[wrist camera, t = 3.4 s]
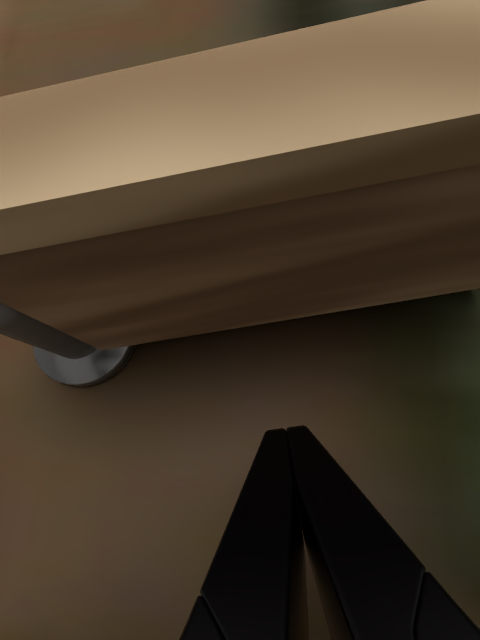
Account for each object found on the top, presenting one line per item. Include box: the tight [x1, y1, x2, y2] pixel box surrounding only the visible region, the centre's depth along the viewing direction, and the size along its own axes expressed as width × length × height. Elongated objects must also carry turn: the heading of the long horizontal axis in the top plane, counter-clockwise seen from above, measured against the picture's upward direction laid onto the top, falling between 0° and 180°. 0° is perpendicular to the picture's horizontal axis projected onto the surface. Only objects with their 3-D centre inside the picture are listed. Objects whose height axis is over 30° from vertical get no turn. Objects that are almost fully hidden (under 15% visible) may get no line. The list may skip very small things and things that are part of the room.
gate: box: [0, 0, 480, 359], centre depth 10 cm, size 3×18×9 cm, turn 97°
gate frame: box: [33, 345, 135, 387], centre depth 12 cm, size 4×32×6 cm, turn 98°
